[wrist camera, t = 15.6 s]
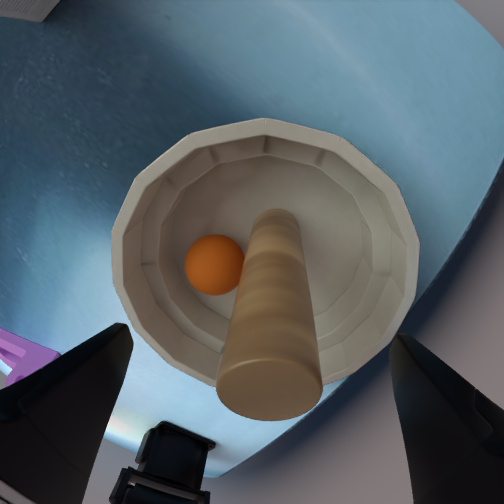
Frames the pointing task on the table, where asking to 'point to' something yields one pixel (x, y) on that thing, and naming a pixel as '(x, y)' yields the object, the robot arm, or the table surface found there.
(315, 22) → the table surface
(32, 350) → the bracket
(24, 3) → the small box
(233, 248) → the ball
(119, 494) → the robot arm
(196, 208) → the bowl
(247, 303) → the stirring stick
